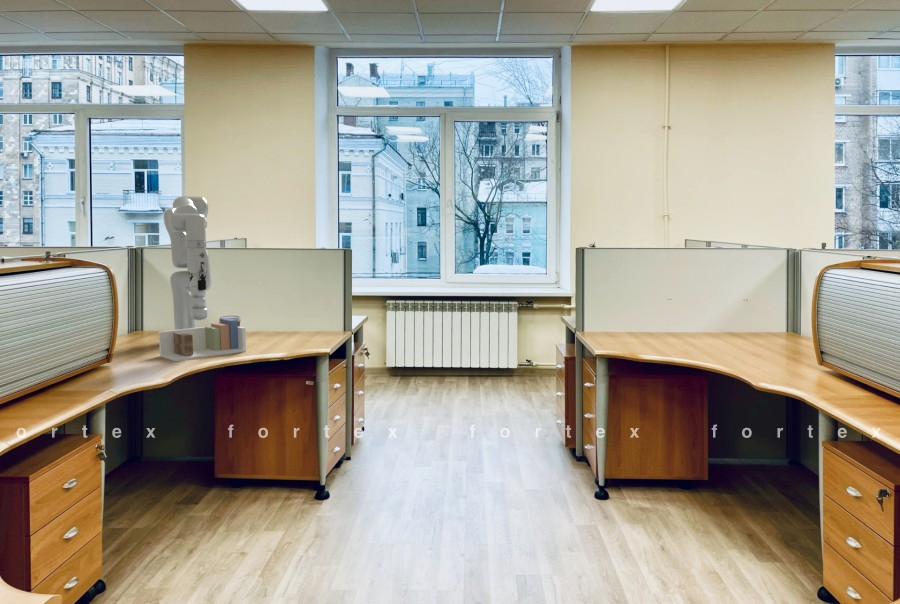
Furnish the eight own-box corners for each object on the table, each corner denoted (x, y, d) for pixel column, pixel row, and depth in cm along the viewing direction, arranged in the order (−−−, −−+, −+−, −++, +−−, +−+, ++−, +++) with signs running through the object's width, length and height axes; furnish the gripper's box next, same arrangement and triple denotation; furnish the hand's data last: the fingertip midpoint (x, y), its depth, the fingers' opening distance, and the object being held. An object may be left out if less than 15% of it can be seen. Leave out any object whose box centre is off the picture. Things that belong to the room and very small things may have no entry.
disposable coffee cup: (235, 345, 312) (234, 318, 311) (215, 344, 314) (214, 318, 312) (245, 341, 321) (245, 315, 320) (226, 341, 323) (225, 315, 322)
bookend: (174, 352, 289) (173, 332, 288) (181, 351, 291) (180, 332, 291) (185, 355, 282) (184, 336, 281) (193, 354, 284) (192, 335, 283)
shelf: (159, 356, 288) (158, 324, 286) (229, 347, 308) (227, 317, 307) (175, 361, 277) (173, 328, 275) (245, 351, 298) (244, 320, 296)
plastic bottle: (200, 318, 294) (198, 270, 292) (211, 319, 290) (209, 270, 288) (187, 320, 289) (185, 271, 286) (197, 321, 285) (195, 271, 283)
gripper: (214, 245, 282) (216, 290, 284) (195, 244, 295) (197, 287, 297) (196, 246, 277) (198, 291, 279) (178, 244, 290) (180, 288, 292)
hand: (198, 289), depth 288 cm, fingers closed on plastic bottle, 6 cm apart
